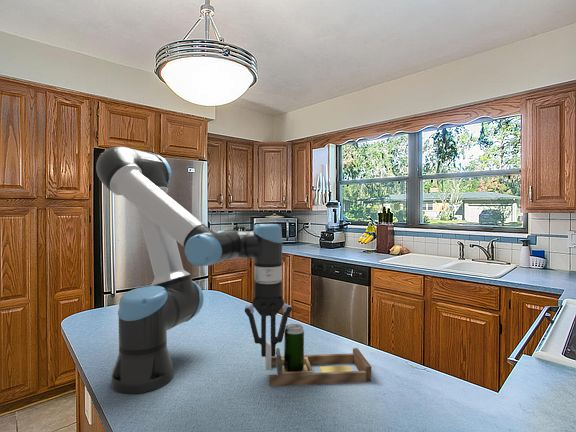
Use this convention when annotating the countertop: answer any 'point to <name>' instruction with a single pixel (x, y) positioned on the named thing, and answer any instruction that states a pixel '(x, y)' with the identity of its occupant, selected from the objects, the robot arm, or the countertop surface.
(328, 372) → the tray
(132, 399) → the countertop surface
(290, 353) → the beer can
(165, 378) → the robot arm
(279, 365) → the wooden square tray
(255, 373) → the countertop surface
